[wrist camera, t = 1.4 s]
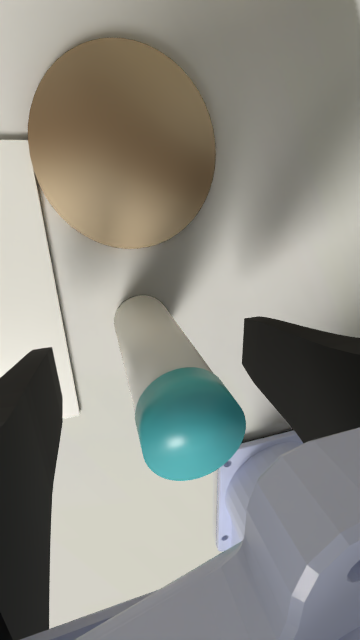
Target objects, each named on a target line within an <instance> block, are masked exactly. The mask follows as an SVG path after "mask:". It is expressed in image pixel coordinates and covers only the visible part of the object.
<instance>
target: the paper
mask: <svg viewBox="0 0 360 640" xmlns="http://www.w3.org/2000/svg"><path fill="white" fill-rule="evenodd" d="M48 347H52V349H53V354H54V359H55V364H56V368H57V373H58V378H59V382H60V387H61V392H62V397H63V416H62V419H65V418H70V417H75V416H80V410H79V405H78V400H77V394H76V389H75V384H74V379H73V373H72V368H71V363H70V357H69V352H68V347H67V342H66V336H65V331H64V326H63V320H62V315H61V310H60V304H59V299H58V294H57V289H56V283H55V278H54V273H53V267H52V262H51V257H50V252H49V246H48V241H47V236H46V230H45V225H44V220H43V215H42V209H41V204H40V199H39V193H38V188H37V183H36V177H35V172H34V170H33V166H32V162H31V158H30V152H29V144H28V140H0V378H1V377H2V376H3V375H4V374H5V373H6V372H7V371H9V370H10V369H11V368H12V367H13V366H14V365H15V364H16V363H18V362H19V361H20V360H21V359H22V358H23V357H24V356H25V355H27V354H28V353H29V352H30V351H32V350H34V349H41V348H48Z"/></svg>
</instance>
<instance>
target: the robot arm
mask: <svg viewBox="0 0 360 640" xmlns="http://www.w3.org/2000/svg"><path fill="white" fill-rule="evenodd" d="M242 364H243V366H244V368H245V369H246V371H247V373H248V375H249V376H250V378H251V379H252V381H253V382H254V383H255V385H256V386H257V387H258V388H259V389H260V391H261V392H262V393H263V394H264V395H265V397H266V398H267V399H268V400H269V401H270V402H271V403H272V405H273V406H274V407H275V408H276V409H277V410H278V411H279V413H280V414H281V415H282V416H283V417H284V418H285V420H286V421H287V422H288V423H289V424H290V426H291V427H292V428H293V429H294V430H293V431H289V432H285V433H281V434H277V435H273V436H269V437H265V438H261V439H257V440H254V441H250V442H246V443H242V444H241V445H240V446H239V448H238V450H237V451H236V453H235V454H234V455H233V456H232V457H231V459H229V460H228V461H227V462H226V463H225V464H224V465H223V466H221V467H220V468H218V488H217V530H216V546H217V548H218V550H219V551H224V552H222V553H220V554H219V555H217V556H215V557H214V558H212V559H210V560H209V561H207V562H205V563H203V564H202V565H200V566H198V567H197V568H195V569H193V570H192V571H190V572H188V573H187V574H185V575H183V576H181V577H180V578H178V579H176V580H175V581H173V582H171V583H170V584H168V585H166V586H165V587H163V588H161V589H159V590H156V591H154V592H151V593H148V594H145V595H143V596H140V597H137V598H134V599H131V600H129V601H126V602H123V603H120V604H118V605H115V606H112V607H109V608H106V609H104V610H101V611H98V612H95V613H93V614H90V615H87V616H84V617H81V618H79V619H76V620H73V621H70V622H68V623H65V624H62V625H59V626H56V627H54V628H51V629H49V576H50V534H51V508H52V491H53V481H54V474H55V468H56V461H57V455H58V448H59V442H60V435H61V428H62V416H63V397H62V392H61V387H60V382H59V378H58V373H57V368H56V364H55V359H54V354H53V349H52V347H48V348H41V349H34V350H32V351H30V352H29V353H28V354H27V355H25V356H24V357H23V358H22V359H21V360H20V361H19V362H18V363H16V364H15V365H14V366H13V367H12V368H11V369H10V370H9V371H7V372H6V373H5V374H4V375H3V376H2V377H1V378H0V640H360V338H355V337H348V336H343V335H337V334H333V333H328V332H324V331H319V330H315V329H311V328H307V327H303V326H299V325H296V324H292V323H288V322H284V321H280V320H276V319H272V318H267V317H252V318H245V319H244V337H243V354H242Z"/></svg>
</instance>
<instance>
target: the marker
mask: <svg viewBox="0 0 360 640" xmlns="http://www.w3.org/2000/svg"><path fill="white" fill-rule="evenodd" d="M114 326H115V331H116V335H117V339H118V343H119V348H120V352H121V356H122V360H123V364H124V368H125V373H126V377H127V381H128V385H129V389H130V393H131V397H132V402H133V406H134V410H135V421H136V426H137V431H138V435H139V439H140V444H141V448H142V452H143V456H144V459H145V462H146V464H147V465H148V467H149V468H150V469H151V470H152V471H153V472H154V473H155V474H157V475H159V476H160V477H163V478H165V479H169V480H175V481H186V480H192V479H197V478H200V477H203V476H205V475H208V474H210V473H212V472H214V471H215V470H217V469H218V468H220V467H221V466H223V465H224V464H225V463H226V462H227V461H228V460H229V459H231V457H232V456H233V455H234V454H235V453H236V451H237V450H238V448H239V446H240V445H241V443H242V440H243V438H244V434H245V429H246V421H245V416H244V413H243V411H242V409H241V407H240V406H239V404H238V403H237V402H236V400H235V399H234V398H233V396H232V395H231V394H230V392H229V391H228V390H227V388H226V387H225V386H224V384H223V383H222V382H221V380H220V379H219V378H218V377H217V376H216V375H215V374H213V372H212V371H211V369H210V368H209V367H208V365H207V364H206V363H205V361H204V360H203V358H202V357H201V356H200V354H199V353H198V352H197V350H196V349H195V347H194V346H193V345H192V343H191V342H190V341H189V339H188V338H187V336H186V335H185V334H184V332H183V331H182V330H181V328H180V327H179V325H178V324H177V323H176V321H175V320H174V319H173V317H172V316H171V315H170V313H169V312H168V310H167V309H166V308H165V306H164V305H163V304H162V303H161V302H160V301H159V300H158V299H156V298H154V297H151V296H147V295H139V296H135V297H132V298H129V299H128V300H126V301H125V302H124V303H122V304H121V306H120V307H119V308H118V310H117V312H116V314H115V318H114Z"/></svg>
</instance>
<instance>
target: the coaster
mask: <svg viewBox="0 0 360 640" xmlns="http://www.w3.org/2000/svg"><path fill="white" fill-rule="evenodd" d="M28 144H29V152H30V158H31V162H32V166H33V170H34V172H35V175H36V178H37V180H38V183H39V185H40V187H41V189H42V191H43V192H44V194H45V196H46V198H47V199H48V201H49V202H50V204H51V205H52V207H53V208H54V209H55V210H56V211H57V213H58V214H59V215H60V216H61V217H62V218H63V219H64V220H65V221H66V222H67V223H68V224H69V225H70V226H72V227H73V228H74V229H76V230H77V231H78V232H80V233H81V234H83V235H84V236H86V237H88V238H90V239H92V240H94V241H96V242H99V243H101V244H104V245H108V246H112V247H116V248H125V249H138V248H145V247H150V246H153V245H157V244H159V243H162V242H164V241H166V240H168V239H170V238H172V237H173V236H175V235H177V234H178V233H179V232H180V231H182V230H183V229H184V228H185V227H186V226H187V225H188V224H189V223H190V222H191V221H192V220H193V219H194V217H195V216H196V215H197V213H198V212H199V211H200V209H201V207H202V205H203V204H204V202H205V200H206V197H207V195H208V193H209V190H210V187H211V183H212V180H213V174H214V169H215V156H216V153H215V139H214V132H213V127H212V123H211V119H210V116H209V113H208V110H207V108H206V105H205V103H204V101H203V99H202V97H201V95H200V93H199V91H198V90H197V88H196V87H195V85H194V84H193V82H192V81H191V79H190V78H189V77H188V76H187V75H186V73H185V72H184V71H183V70H182V69H181V68H180V67H179V66H178V65H177V64H176V63H175V62H174V61H173V60H171V59H170V58H169V57H167V56H166V55H164V54H163V53H162V52H160V51H158V50H156V49H154V48H153V47H151V46H149V45H146V44H144V43H141V42H138V41H135V40H130V39H124V38H101V39H95V40H91V41H88V42H85V43H82V44H80V45H78V46H76V47H74V48H72V49H71V50H69V51H67V52H66V53H65V54H64V55H62V56H61V57H60V58H59V59H57V60H56V61H55V63H54V64H53V65H52V66H51V67H50V68H49V69H48V71H47V72H46V74H45V75H44V77H43V78H42V80H41V82H40V83H39V86H38V88H37V90H36V92H35V95H34V97H33V101H32V105H31V109H30V114H29V122H28Z"/></svg>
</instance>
